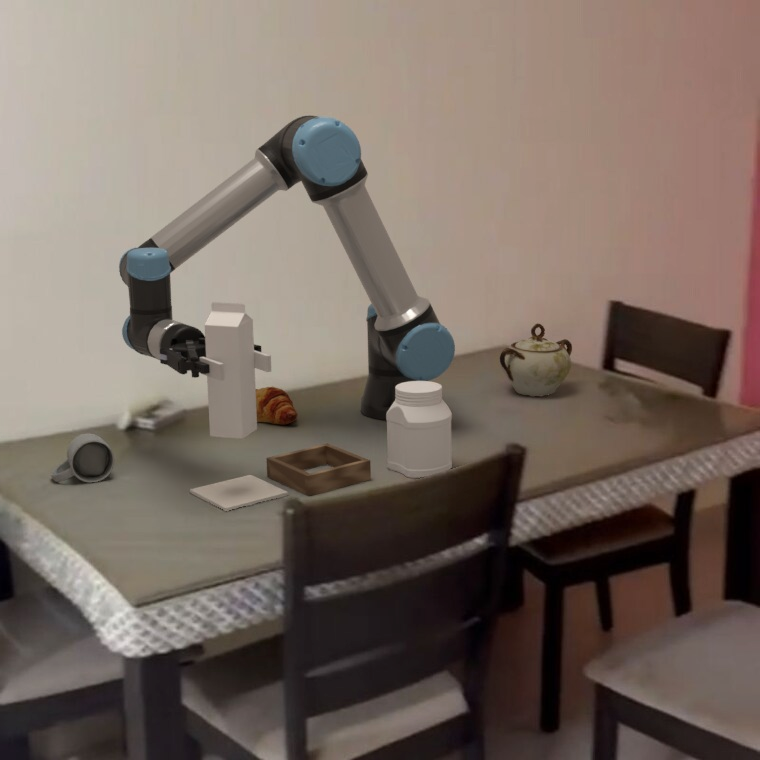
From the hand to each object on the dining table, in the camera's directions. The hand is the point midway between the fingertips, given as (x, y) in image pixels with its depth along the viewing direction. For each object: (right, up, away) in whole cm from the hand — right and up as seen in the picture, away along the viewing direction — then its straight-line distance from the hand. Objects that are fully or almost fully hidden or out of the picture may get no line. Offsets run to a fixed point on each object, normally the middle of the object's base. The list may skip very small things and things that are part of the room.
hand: (245, 368), depth 202 cm
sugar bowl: (+56, -5, +70) cm, 89 cm away
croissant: (-1, -10, +56) cm, 56 cm away
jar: (+29, -18, +21) cm, 40 cm away
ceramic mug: (-31, -20, +20) cm, 41 cm away
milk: (-3, -11, +7) cm, 13 cm away
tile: (-2, -21, +9) cm, 23 cm away
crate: (+11, -19, +17) cm, 28 cm away
